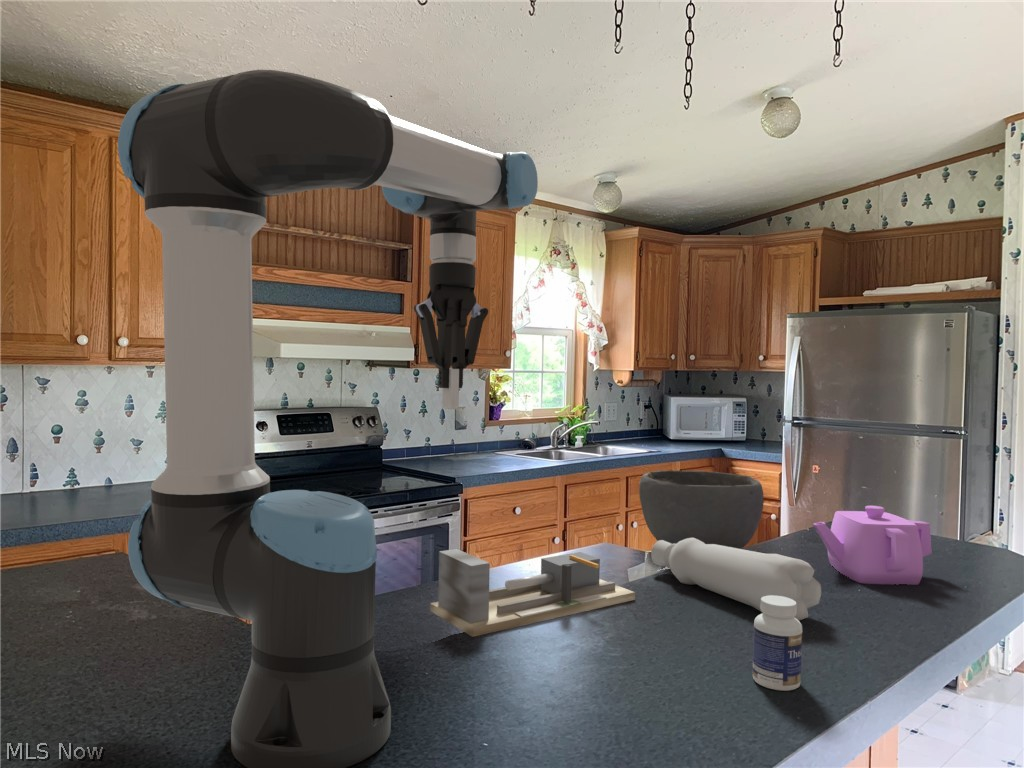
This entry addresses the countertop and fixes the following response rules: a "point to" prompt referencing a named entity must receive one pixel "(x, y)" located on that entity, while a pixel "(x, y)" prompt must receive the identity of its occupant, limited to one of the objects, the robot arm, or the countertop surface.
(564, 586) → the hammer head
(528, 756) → the countertop surface
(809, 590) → the bottle
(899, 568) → the teakettle
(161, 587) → the robot arm
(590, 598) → the bench vise
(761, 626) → the pill bottle
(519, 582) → the sliding vise jaw
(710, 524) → the bowl
